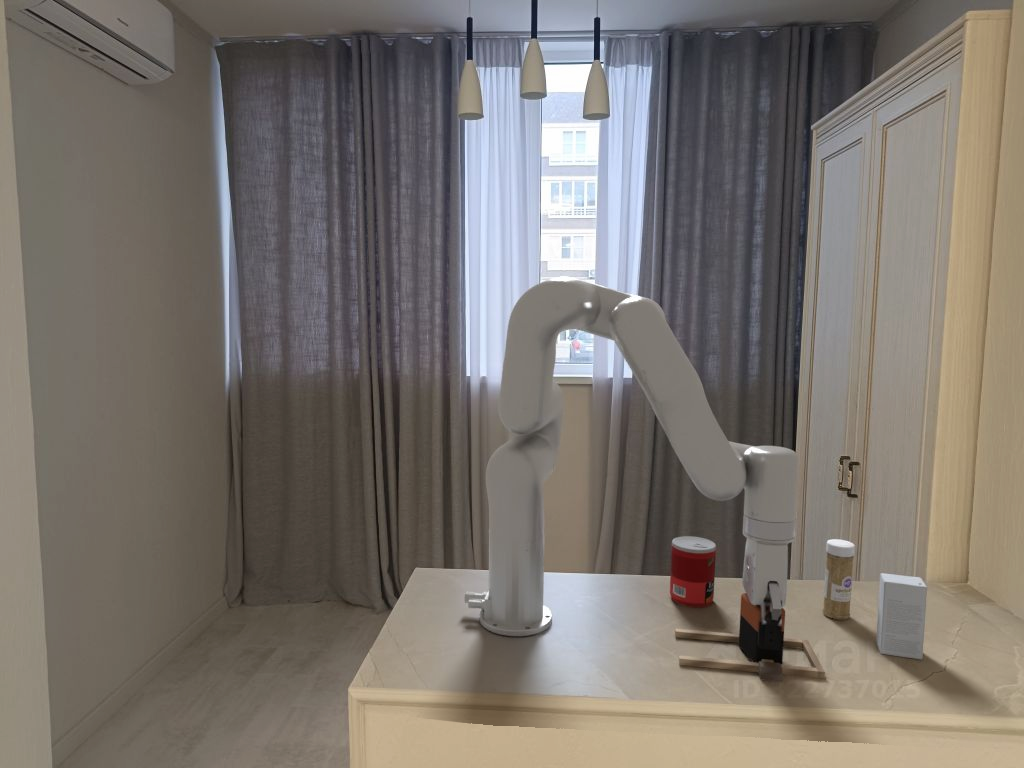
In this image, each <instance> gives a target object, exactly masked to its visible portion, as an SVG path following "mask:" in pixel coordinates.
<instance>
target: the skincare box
mask: <svg viewBox="0 0 1024 768" xmlns="http://www.w3.org/2000/svg"><path fill="white" fill-rule="evenodd" d="M878 590H879V591H878V606H877V625H876V645H877V648H878V651H879V653H880V654H881V655H888V656H889V655H890V656H895V657H901V658H910V659H915V660H923V656H924V655H923V653H924V643H925V642H924V637H925V629H926V628H925V624H926V609H927V596H928V595H927V594H928V586H927V585H926V583H925V582H924V580H923V579H922V578H921V576H908V575H900V574H894V573H893V574H892V573H883V572H881V573H880V574H879V588H878Z"/></svg>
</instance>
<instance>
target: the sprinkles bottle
mask: <svg viewBox="0 0 1024 768" xmlns="http://www.w3.org/2000/svg"><path fill="white" fill-rule="evenodd" d="M825 546H826V547H825V552H826V561H825V569H824V570H825V571H824V586H823V608H822V614H823V615H824V616H826V617H828V618H830V619H832V618H833V620H839V621H842V620H843V621H844V620H848V619H849V618H850V617H851V613H850V611H851V610H850V609H851V600H852V589H853V588H852V587H853V584H852V583H853V582H852V581H853V565H854V564H853V563H854V557H855V556H856V555H855V552H856V551H855V550H856V544H854V543H853V542H851V541H848V540H845V539H839V538H837V539H836V538H833V539H828V540H827V541H826V545H825Z"/></svg>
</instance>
